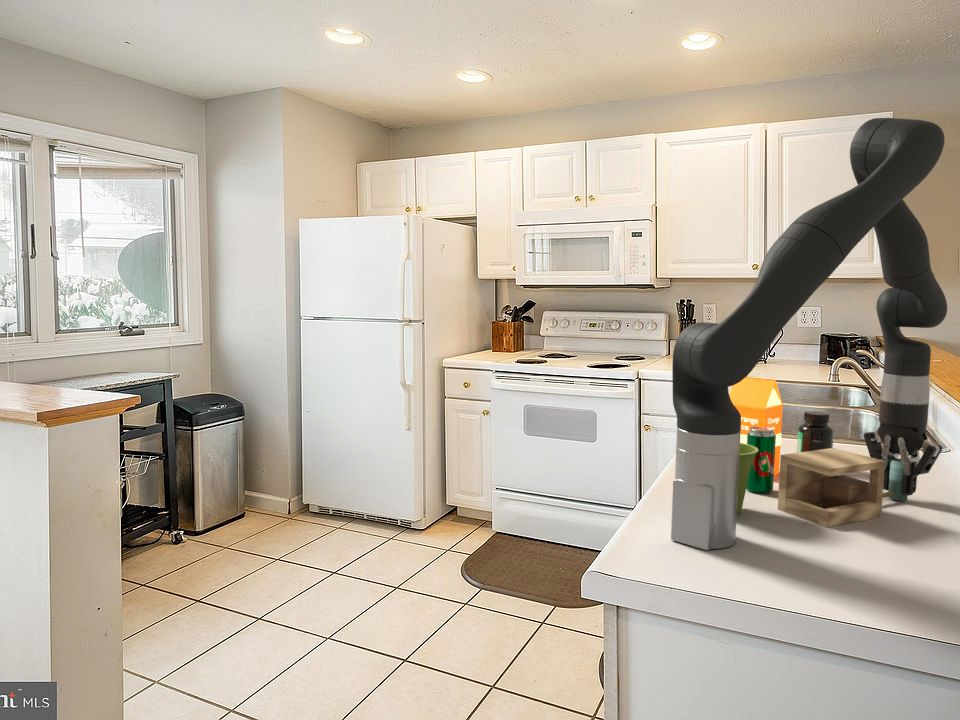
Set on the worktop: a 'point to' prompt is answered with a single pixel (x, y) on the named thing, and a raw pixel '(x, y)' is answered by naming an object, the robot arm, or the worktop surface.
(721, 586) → the worktop surface
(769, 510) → the worktop surface
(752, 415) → the orange juice
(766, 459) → the soda can
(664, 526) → the worktop surface
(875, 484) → the box
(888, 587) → the worktop surface
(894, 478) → the tethered block
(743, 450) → the plant pot
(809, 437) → the supplement bottle
